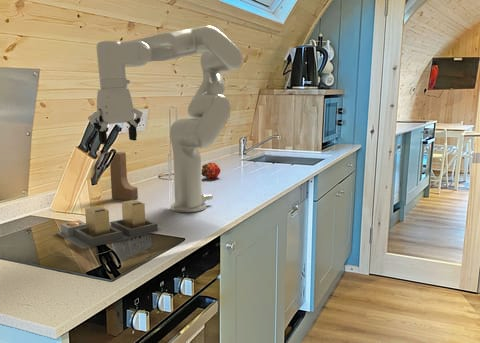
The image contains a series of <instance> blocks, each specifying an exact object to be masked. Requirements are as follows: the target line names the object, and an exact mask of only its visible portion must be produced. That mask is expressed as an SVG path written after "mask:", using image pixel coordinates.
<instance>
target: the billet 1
mask: <svg viewBox="0 0 480 343" xmlns="http://www.w3.org/2000/svg"><path fill="white" fill-rule="evenodd" d="M84 213H85V223H86V231H87V234H88V235H90V236H91V237H96V236H100V235H105V234H109V233H110V226H109V222H110V212H109V209H107V208H104V207H102V206H100V205H98V206H91V207H86V208H85V209H84Z"/></svg>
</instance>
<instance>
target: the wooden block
mask: <svg viewBox="0 0 480 343" xmlns="http://www.w3.org/2000/svg"><path fill="white" fill-rule="evenodd" d="M115 152H116V155H115V157H114V159H113V161H112V163H111V165H110V164H109V165H110V168H109V170H110V184H111V187H110V188H111V200H114V199H115V200H117V201H125V200H126V201H130V200H137V199H139V193H138V190H139V189H138V187H137V186H133V185H131V184H130V183H129V181H128V174H127V171H128V169H127V156H126V152H125V151H124V152H123V151H115ZM115 200H114V201H115Z"/></svg>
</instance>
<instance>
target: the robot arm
mask: <svg viewBox="0 0 480 343" xmlns="http://www.w3.org/2000/svg"><path fill="white" fill-rule="evenodd" d="M198 54H201V55H200V67H201V69H202V77H203V78H202V82H201V84H200V85H199V88H198V89H197V91H196V92H195V94H194V95H193V97H192V99H191V101H190V103H189V104H188V107H187V112H188V116H189V117H190V118H179V119H176V120H175V121H174V122H172V124H171V126H170V128H169V139H170V143H171V149H172V154H173V155H172V156H173V184H174V186H173V187H174V190H173V191H174V202H173V203H171V204H170V206H169V208H170V210H171V211H174V212H177V213H195V212H200V211H203V210H205V209H207V204H206V203H205V202H206V201H210V200H213V197H214V196H213V194H211V193H210V194H205V193H202V190H203V189H202V174H201V173H202V157H201V152H200V149H207V148H210V147H212V146H213V145H214V143H215V142H216V141H217V140H218V138H219V136H220V134H221V133H222V130H223V129H224V127H225V125H226V123H227V122H228V120H229V118H230V116H231V107H232V106H231V103H230V100H229V98H227V97H226V96H225V95H224V93H225V89H226V85H225V80H224V76H223V73H222V72H234V71H237V70H238V69H239V68H241V66H242V63H243V54H242V52H241V50H240V48H239V46H237V45H236V44H235V43H234V42H233V41H232V40H230V38H228V37H227V35H226V34H224V33H223V32H221V31H220V30H219V29H218V28H216V27H214V26H212V25H205V26H204V25H203V26H197V27H192V28H185V29H180V30H175V31H169V32H164V33H159V34H156V35H155V34H154V35H152V36H147V37H143V38H138V39H132V40H127V41H119V40H104V41H99V42H98V43H97V44H96V56H97V57H96V58H97V67H98V77H99V86H100V87H99V89H98V90H97V96H96V111H95V112H94V113H92V114H90V115H89V116H88V118H87V119H88V121H89V123H90V124H91V126H92V127H93V128H94V129H95V130H96V131H97V132H98V141H99V143H100V144H101V145H104V146H106V145H108V143H109V142H108V133H107V131H106V128H107V127H108V125H113V124H122V123H123V124H124V123H127V124H128V138H129V140H130V141H135V142H136V141H137V137H138V136H137V135H138V134H137V132H138V131H137V127H139V124H140V122H141V119H142V117H143V114H144V113H143V111H141V110H139V109H137V108H134V104H133V100H132V96H131V92H130V89H129V88H128V85H130V84H131V81H130V79H127V74H126V68H136V67H142V66H145V65H146V64H148V63H150V62H162V61H163V62H164V61H171V60H176V59H180V58H184V57H189V56H193V55H198ZM96 119H97V120H96Z"/></svg>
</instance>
